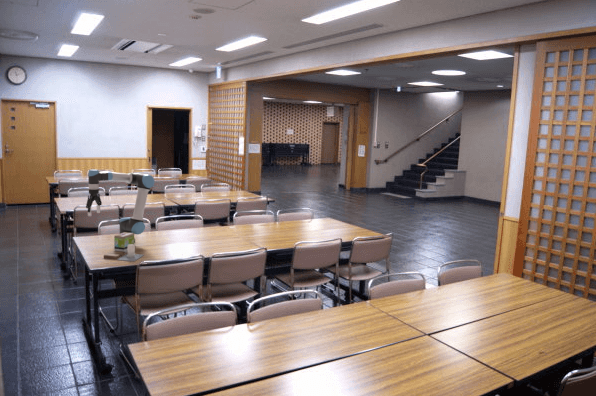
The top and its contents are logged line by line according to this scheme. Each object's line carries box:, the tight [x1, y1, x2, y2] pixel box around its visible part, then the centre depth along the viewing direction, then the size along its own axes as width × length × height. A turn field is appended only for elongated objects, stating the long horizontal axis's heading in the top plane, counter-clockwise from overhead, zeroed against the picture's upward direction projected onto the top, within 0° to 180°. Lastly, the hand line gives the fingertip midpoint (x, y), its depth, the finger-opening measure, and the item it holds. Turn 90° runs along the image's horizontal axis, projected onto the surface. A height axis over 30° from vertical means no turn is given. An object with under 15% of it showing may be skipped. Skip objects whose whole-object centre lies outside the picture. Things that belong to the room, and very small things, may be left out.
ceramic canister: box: [126, 243, 136, 258], centre depth 375 cm, size 6×6×10 cm
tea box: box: [113, 232, 135, 254], centre depth 393 cm, size 15×10×15 cm, turn 168°
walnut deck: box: [103, 250, 126, 260], centre depth 377 cm, size 14×11×2 cm
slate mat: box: [116, 253, 145, 262], centre depth 375 cm, size 18×14×1 cm
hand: (94, 214), depth 377 cm, fingers open, 13 cm apart
